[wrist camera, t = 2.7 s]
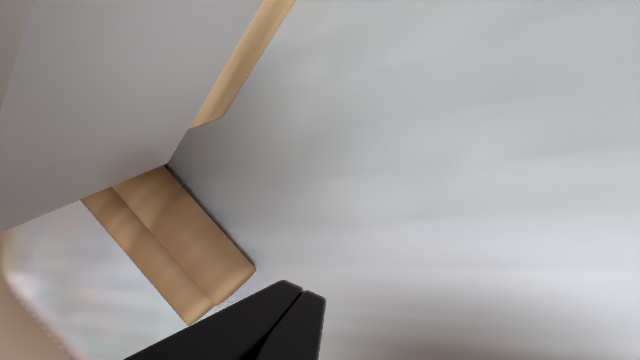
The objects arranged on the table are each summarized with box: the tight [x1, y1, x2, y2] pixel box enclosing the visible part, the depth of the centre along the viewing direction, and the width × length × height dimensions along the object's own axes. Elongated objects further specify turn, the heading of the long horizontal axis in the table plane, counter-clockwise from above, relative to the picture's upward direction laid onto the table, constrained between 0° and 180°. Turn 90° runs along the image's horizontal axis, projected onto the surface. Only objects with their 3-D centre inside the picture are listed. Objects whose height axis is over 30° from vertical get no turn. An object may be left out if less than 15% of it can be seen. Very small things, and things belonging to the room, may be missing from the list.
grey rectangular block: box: [0, 0, 263, 232], centre depth 14 cm, size 5×9×7 cm, turn 144°
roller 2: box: [111, 165, 256, 306], centre depth 26 cm, size 9×2×2 cm, turn 54°
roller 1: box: [80, 187, 215, 326], centre depth 28 cm, size 9×2×2 cm, turn 53°
